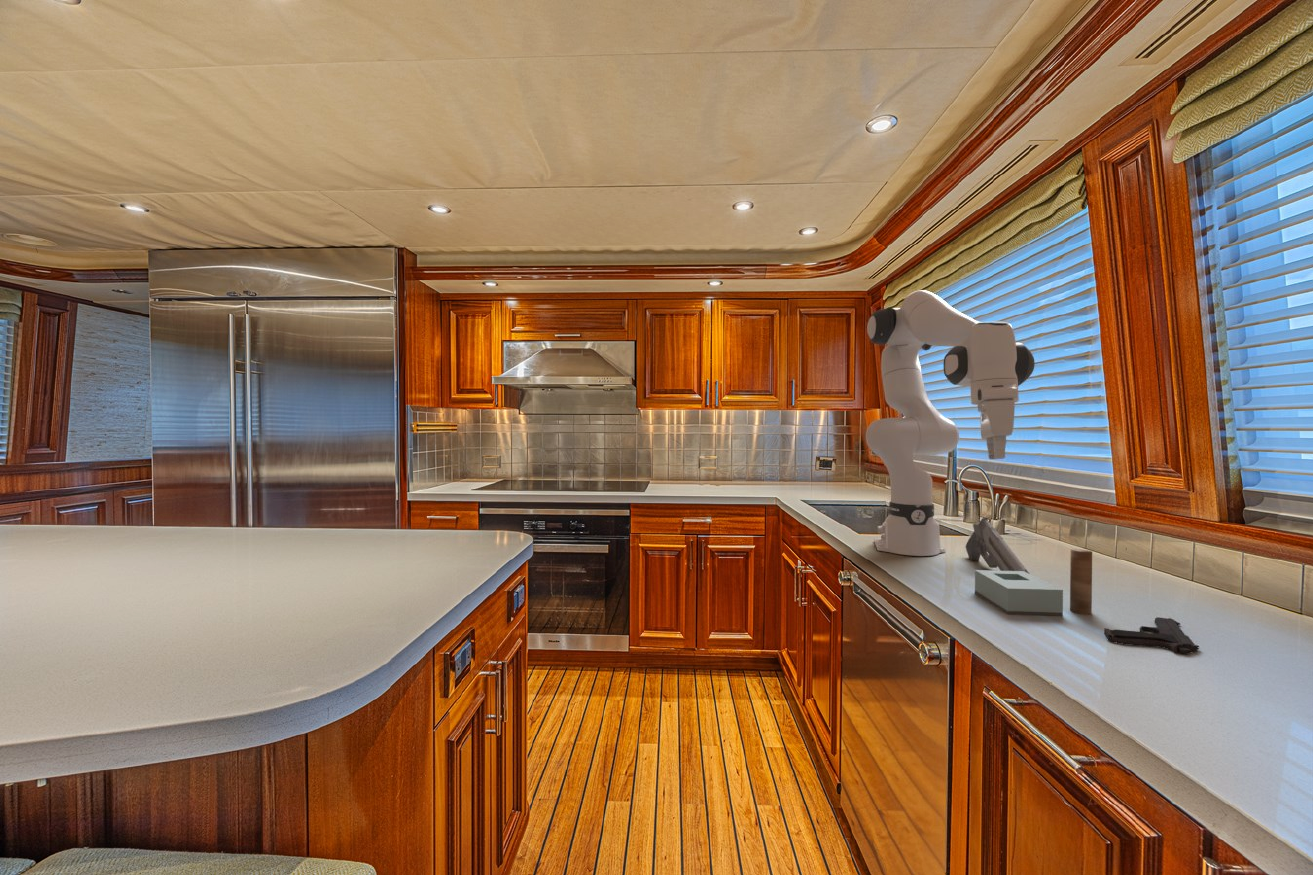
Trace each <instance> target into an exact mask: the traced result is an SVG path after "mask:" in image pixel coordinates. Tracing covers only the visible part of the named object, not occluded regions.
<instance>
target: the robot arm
mask: <svg viewBox="0 0 1313 875" xmlns="http://www.w3.org/2000/svg"><path fill="white" fill-rule="evenodd" d="M866 326H867V328H866V330H867V331H866V332H867V337H868V339H869V340H870V342H871V343H873V344H875V345H878V346H885V345H886V346H885V347H884V349H883V350H882V352H881V360H880V362H881V363H880V367H881V370H880V371H881V379H882V386H883V394H884V399H885V400H884V401H885V402H886V404H887V405H888V406H889V407H890V408H891V409H893V410H895V411H897V412H898V413H900V414H901V415H903V416H904V417H886V418H881V419H876V420H873V421H871V423H870V424H869V426H867V429H866V432H865V443H866V445H867V446H868V448H869V450H871V452H872V453H874V454H875V455H876V456H877V457H878V458H880V459H881V461H882V463H884V465H885V467H886V469H887V471H888V475H889V482H890V483H889V484H890V501H889V505H888V508H887V509H888V511H887V512H888V516H887V517H886V518H885V520H884V522H882V524H881V525H877V534H881V536H880V537H876V538H874V539H873V540H874V541H873V542H874V544H875V547H876V549H877V550H876V551H879V552H887V553H892V554H897V555H903V556H904V555H905V556H914V557H915V556H916V557H926V556H927V557H930V556H936V555H938V554H941V553H946V548H945V547H942V546H941V534H940V525H939V522H937V521H936V520H935V518H934V516H935V505H934V503H933V478H932V476H931V475H930V473H928V472H927V471H926V470H924V469H923V468H920V467H919V466H917V465H916V464H915V462H914V457H913V456H937V455H943V454H947V453H951V452H953V451H954V450H955V449H956V447H957V445H958V444H959V441H960V440H959V439H960V433H959V429H958V427H957V425H956V424H955V423H954V421H953V420H951V419H949V418H947V417H945V416H944V415H942V414H941V413H940V412H939V411H938V410H937V409H936V408H935V407H934V405H933V404H932V402H931V400H930V399H929V397H928V395H927V394H928V393H927V391H926V388H925V383H924V379H923V373H922V368H921V363H920V360H919V352H920V350H921V349H922V350H923V351H928V350H930V349H931V347H932V346H935V347H952V348H951V349H950V350H948V352H947V353H946V354H945V355H944V358H943V375H944V376H945V378H946V379H947V381H948V382H949V383H951V384H952V385H955V386H960V387H961V386H962V387H970V404H971V405H972V406H973V405H974V406H977V412H979V413H980V438H981V440H986V447H987V455H988V456H987V458H988V460H1003V459H1005V458H1006V445H1007V437H1009V436H1012V434H1013V431H1014V426H1015V409H1016V408H1015V407H1016V406H1015V405H1016V404H1015V403H1018V402H1019V386H1021V385H1022V384H1023V383H1025V382H1026V381H1027V380H1028V379H1029V378H1030V377H1031V375H1033V372H1034V370H1035V366H1036V365H1035V358H1034V355H1033V353H1032V352H1031V350H1030V349H1029V348H1028V347H1027V346H1026V345H1025V344H1024V343H1021V342H1016V336H1015V331H1014V328H1013V326H1012V324H1011V323H1009V322H1007V321H978V320H977V319H974V318H972V317H971V316H970V317H969V316H968V315H966V314H964V313H962V312H960V311H958V310H957V309H956V308H953V307H952V306H951V305H949V304H948V303H947V302H946V301H945V300H944V299H942V298H941V297H940V296H938V295H936V294H934V292H930V291H928V290H924V289H923V290H921V289H920V290H915V291H914V292H913V291H912V292H911V293H910V294H908V295H907V296H906V297H905V298H904V300H903V301H902V303H901V306H900V307H891V306H889V307H886V308H882V309H878V310H875V311H873V313H872V314H871V315H870V316H869V318H868V321H867V325H866Z"/></svg>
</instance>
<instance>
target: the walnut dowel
mask: <svg viewBox="0 0 1313 875" xmlns="http://www.w3.org/2000/svg"><path fill="white" fill-rule="evenodd" d="M1069 565H1070V571H1069V573H1070V574H1069V575H1070V579H1069V580H1070V583H1069V584H1070V585H1069V587H1070V588H1069V610H1070V612H1072V613H1075V614H1079V615H1091V614H1092V613H1093V612H1092V611H1093V610H1092V609H1093V604H1092V603H1093V596H1092V595H1093V551H1091V550H1088V549H1081V548H1071V549H1070V564H1069Z"/></svg>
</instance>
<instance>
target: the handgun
mask: <svg viewBox="0 0 1313 875" xmlns="http://www.w3.org/2000/svg"><path fill="white" fill-rule="evenodd" d="M1154 624H1155V625H1156V627H1155V626H1146V625H1145V626H1143V625H1141V626H1140V627H1139V631H1138V630H1137V631H1135V630H1127V629H1126V630H1125V629H1110V628H1106V627H1105V628H1104V633H1103V634H1104V635H1105V638H1106V640H1107V639H1108V640H1107V641H1109V640H1111V641H1110V642H1117V643H1116V644H1118V643H1123V644H1122V645H1124V644H1133V645H1132V646H1138V645H1143V646H1142V647H1153V646H1159V647H1158V648H1162V647H1165V648H1164V649H1166V648H1168V649H1167V650H1170V649H1171V650H1170V651H1172V652H1174V653H1173V654H1178V653H1180V654H1184V655H1186V654H1191V652H1193V653H1195V652H1197V651H1198V650H1200V645H1197V644H1195V643H1194V641H1193V640H1192V639H1191V638H1190V636H1188V635H1187V634H1185V633H1184V632H1183V630H1182V629H1181V628H1180V625H1181V622H1178V621H1176V620H1175V619H1173V618H1171V617H1168V618H1166V617H1158V616H1156V617H1155V618H1154ZM1151 632H1152V633H1151ZM1144 645H1145V646H1144Z"/></svg>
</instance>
